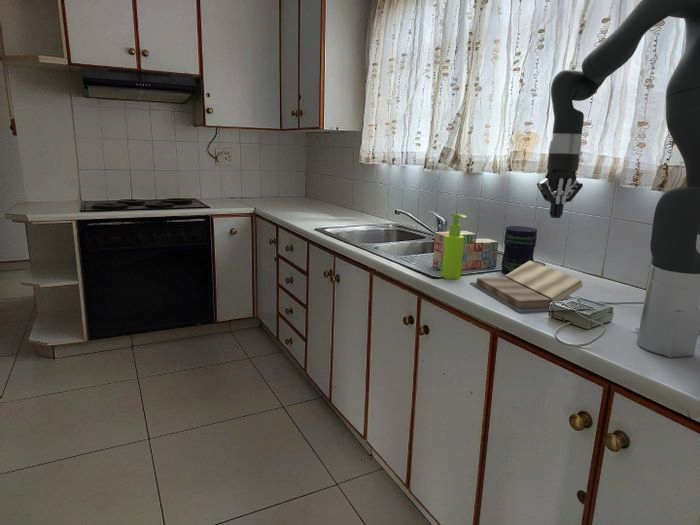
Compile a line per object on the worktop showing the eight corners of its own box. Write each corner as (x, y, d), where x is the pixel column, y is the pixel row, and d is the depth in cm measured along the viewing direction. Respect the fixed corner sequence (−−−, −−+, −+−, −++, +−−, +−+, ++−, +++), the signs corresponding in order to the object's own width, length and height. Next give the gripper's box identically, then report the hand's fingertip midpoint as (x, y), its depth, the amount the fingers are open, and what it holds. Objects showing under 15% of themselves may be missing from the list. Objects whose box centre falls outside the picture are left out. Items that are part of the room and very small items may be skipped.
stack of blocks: (485, 263, 168) (489, 229, 165) (496, 268, 162) (500, 233, 159) (432, 266, 161) (434, 231, 158) (441, 271, 156) (443, 234, 153)
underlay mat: (594, 309, 122) (595, 307, 121) (519, 313, 116) (519, 311, 116) (534, 281, 146) (534, 279, 146) (469, 284, 141) (470, 282, 141)
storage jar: (517, 268, 162) (522, 225, 158) (538, 275, 153) (544, 230, 150) (494, 270, 158) (499, 226, 155) (514, 278, 149) (520, 231, 146)
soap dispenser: (453, 281, 144) (459, 216, 139) (437, 275, 149) (442, 213, 145) (466, 278, 147) (472, 215, 142) (450, 273, 152) (456, 212, 148)
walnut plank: (549, 306, 121) (550, 299, 120) (518, 308, 118) (519, 301, 118) (503, 283, 141) (504, 276, 141) (476, 284, 139) (477, 277, 139)
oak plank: (583, 286, 121) (580, 280, 121) (554, 304, 121) (552, 298, 120) (532, 265, 142) (529, 260, 142) (507, 281, 141) (505, 275, 141)
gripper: (551, 151, 118) (542, 219, 122) (596, 153, 121) (586, 219, 125) (533, 151, 125) (525, 215, 129) (576, 152, 128) (567, 215, 132)
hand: (555, 217), depth 127 cm, fingers closed
